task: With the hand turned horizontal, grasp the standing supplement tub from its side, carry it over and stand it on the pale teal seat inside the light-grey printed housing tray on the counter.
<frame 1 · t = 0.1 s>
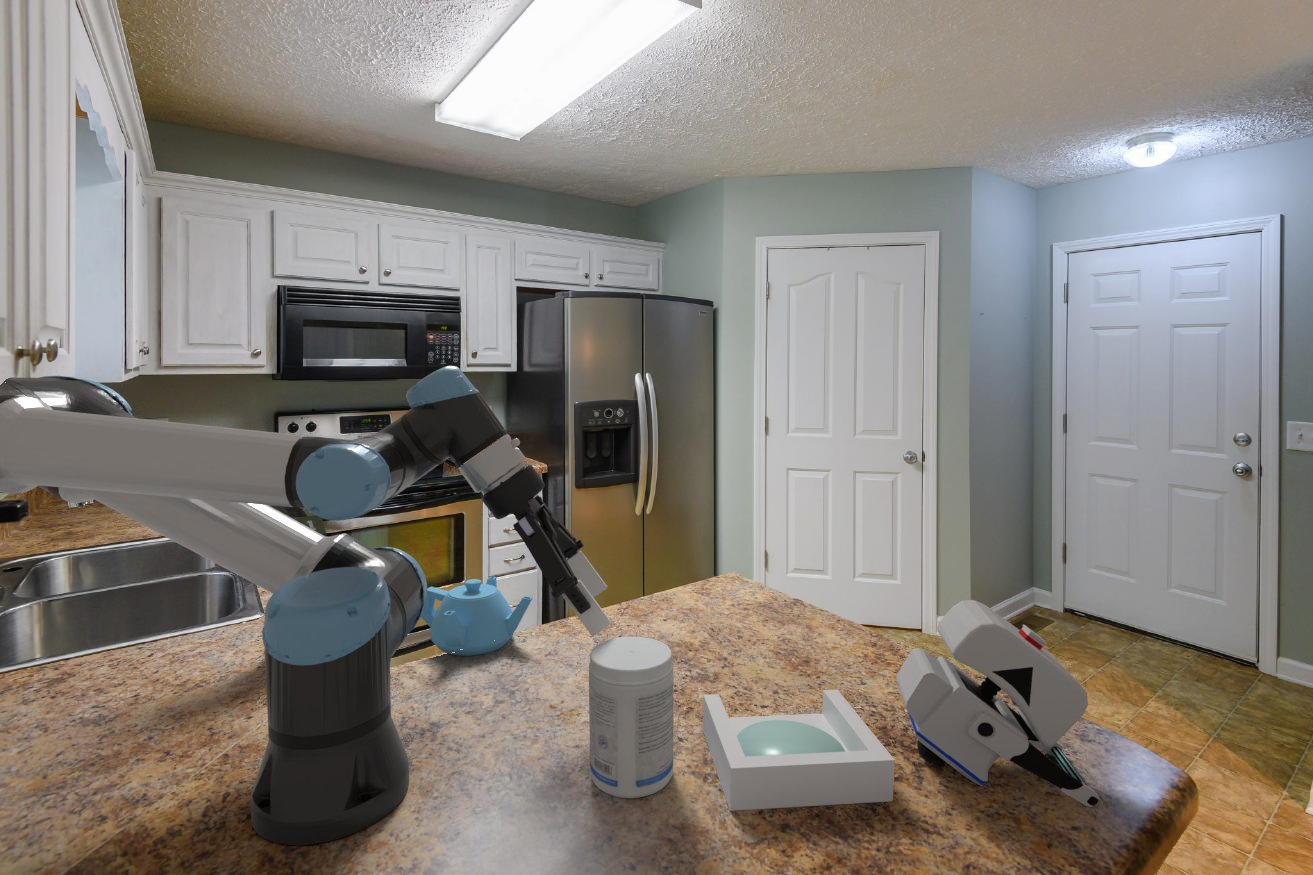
hand: (600, 609, 84), 15 cm above the countertop, tool tilted 35°, fingers open, 13 cm apart
mechanical leg: (300, 650, 107), on the countertop
teapot: (474, 643, 111), on the countertop
supplement tub: (630, 777, 74), on the countertop
robotic device: (985, 769, 77), on the countertop
housing: (789, 762, 77), on the countertop
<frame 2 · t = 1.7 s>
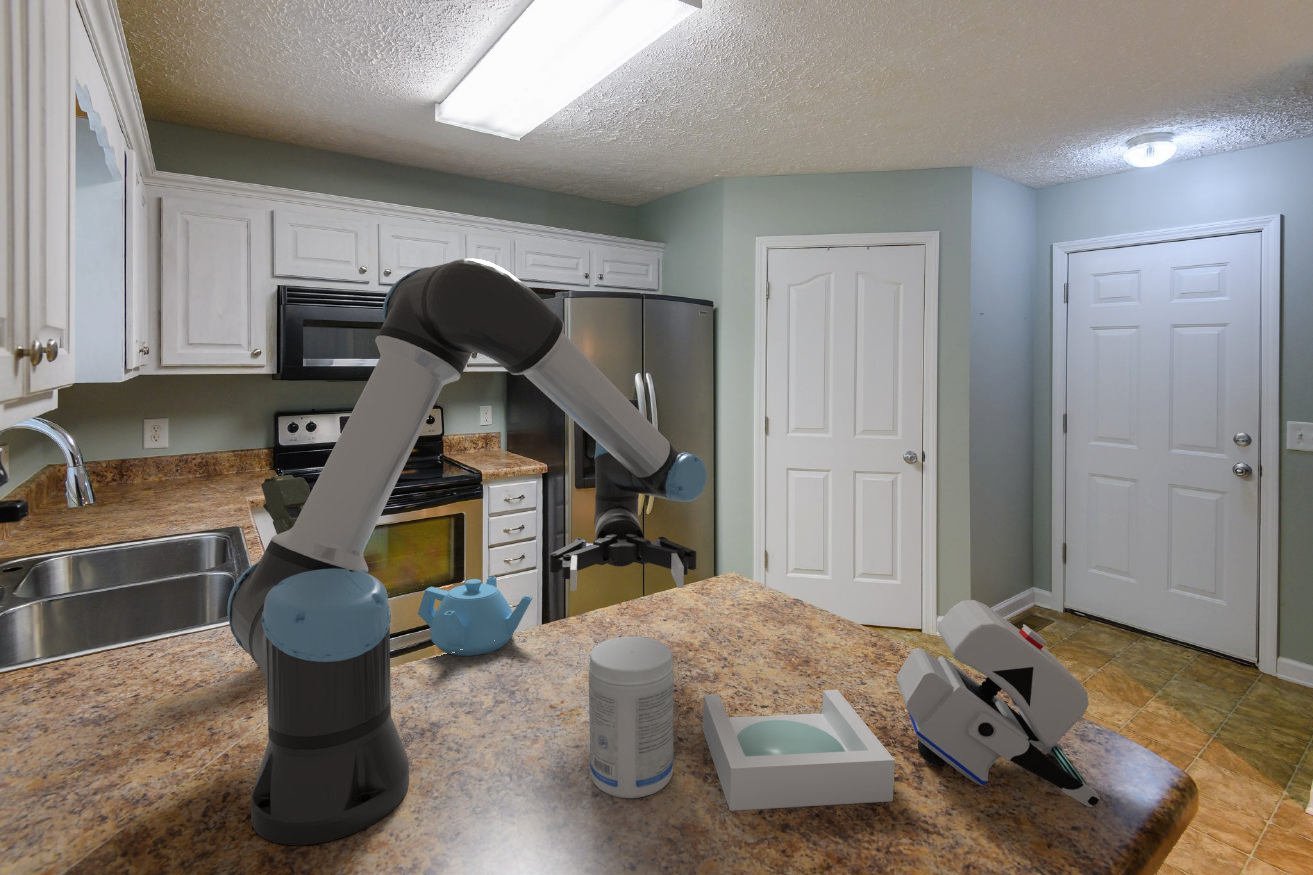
hand: (627, 579, 82), 20 cm above the countertop, tool horizontal, fingers open, 13 cm apart
nothing on the countertop moved.
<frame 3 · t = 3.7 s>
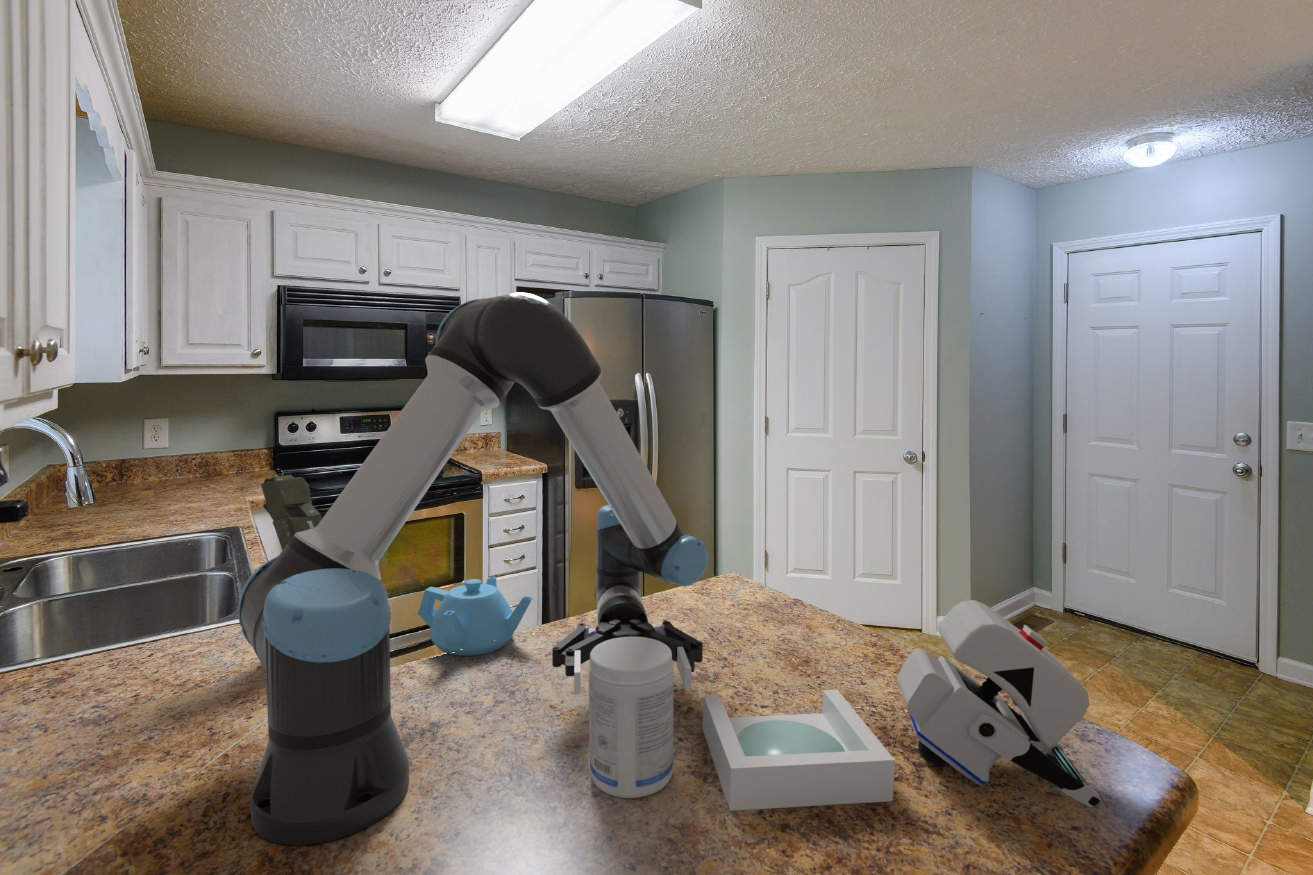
hand: (633, 681, 79), 8 cm above the countertop, tool horizontal, fingers open, 13 cm apart
nothing on the countertop moved.
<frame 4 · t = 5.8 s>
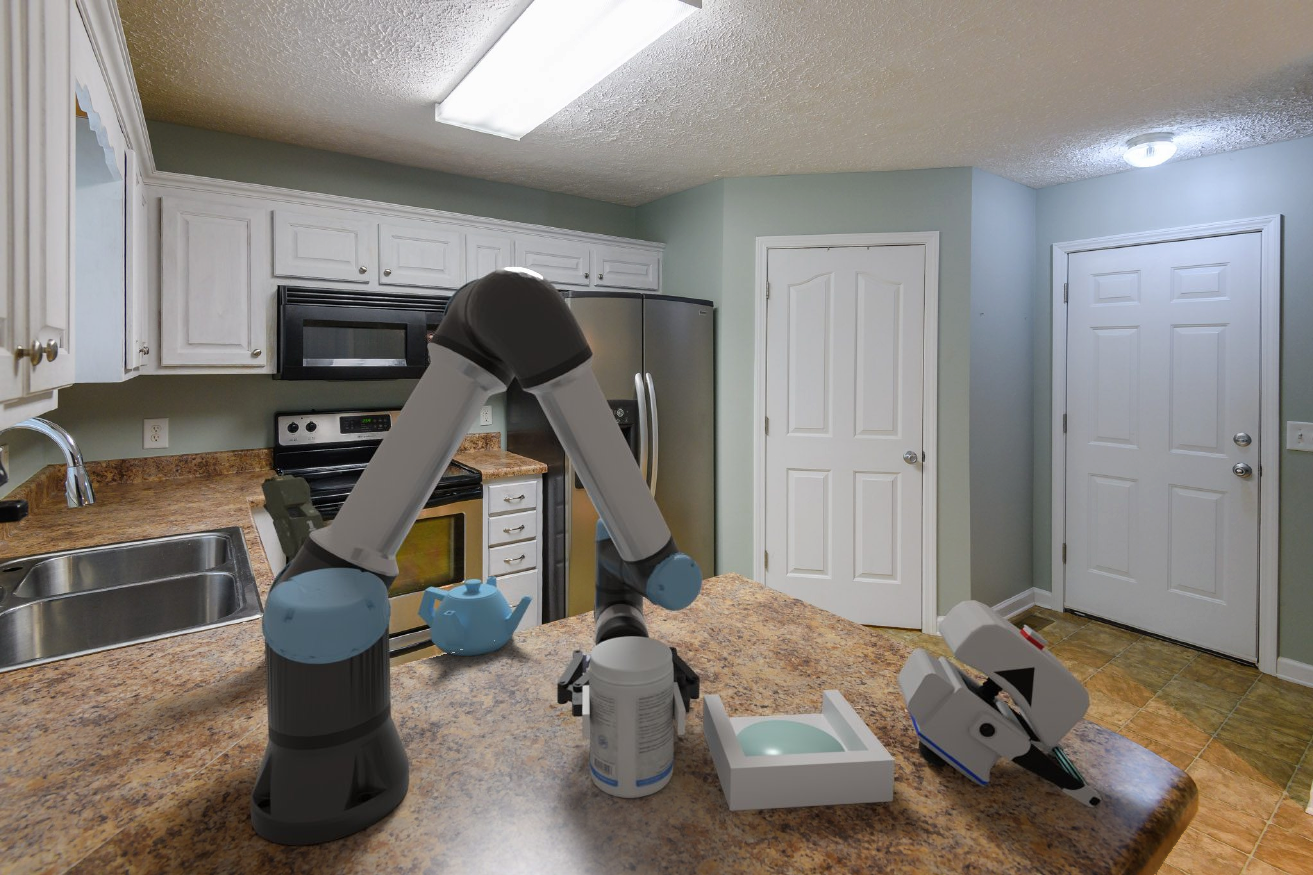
hand: (634, 724, 69), 9 cm above the countertop, tool horizontal, fingers closed on supplement tub, 9 cm apart
supplement tub: (630, 777, 74), on the countertop, touching gripper
everything else where it was.
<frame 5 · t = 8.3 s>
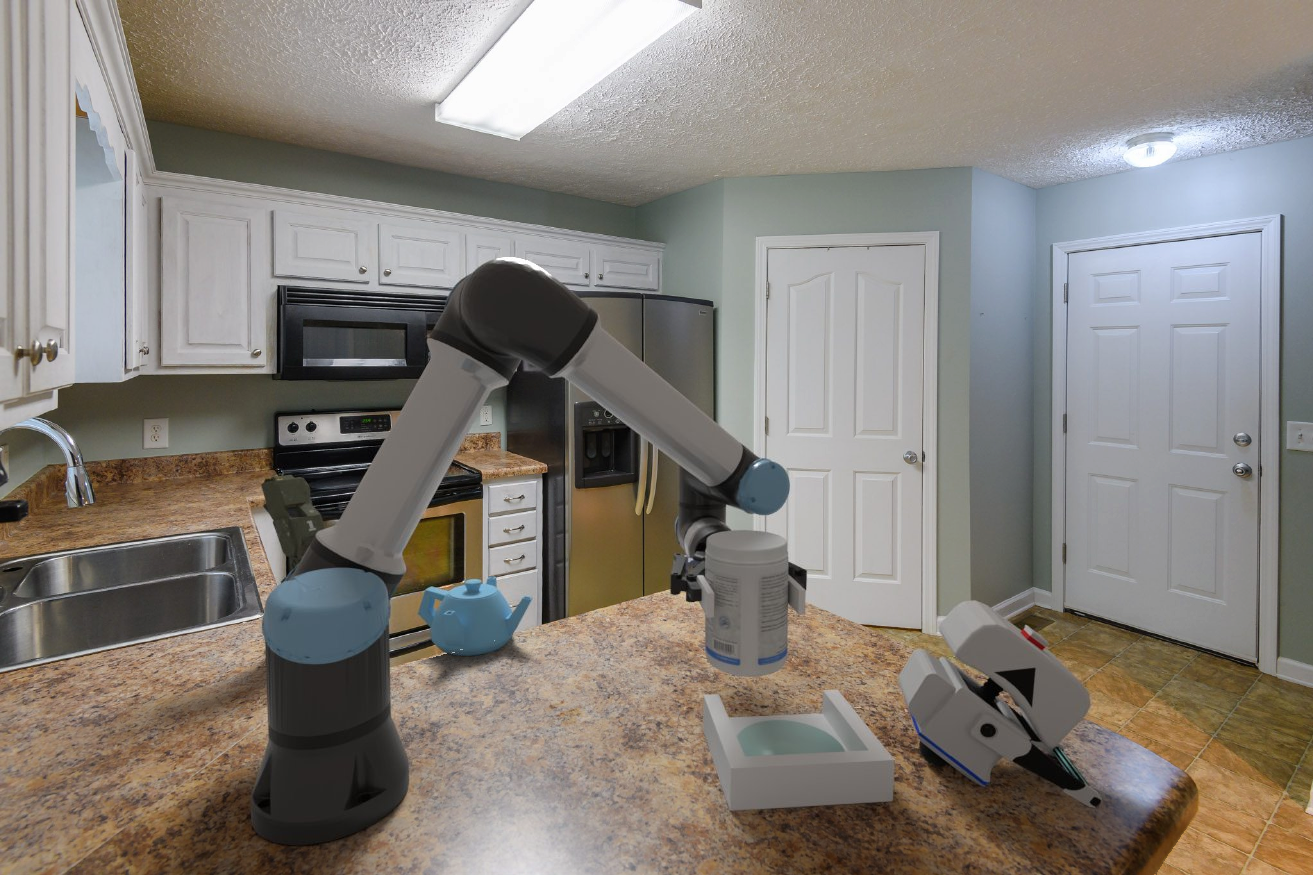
hand: (756, 603, 71), 21 cm above the countertop, tool horizontal, fingers closed on supplement tub, 9 cm apart
supplement tub: (744, 663, 76), point 12 cm above the countertop, touching gripper
everything else where it was.
when the fingers open (11 cm above the countertop, at t = 10.9 s): supplement tub drops 1 cm, resting on housing.
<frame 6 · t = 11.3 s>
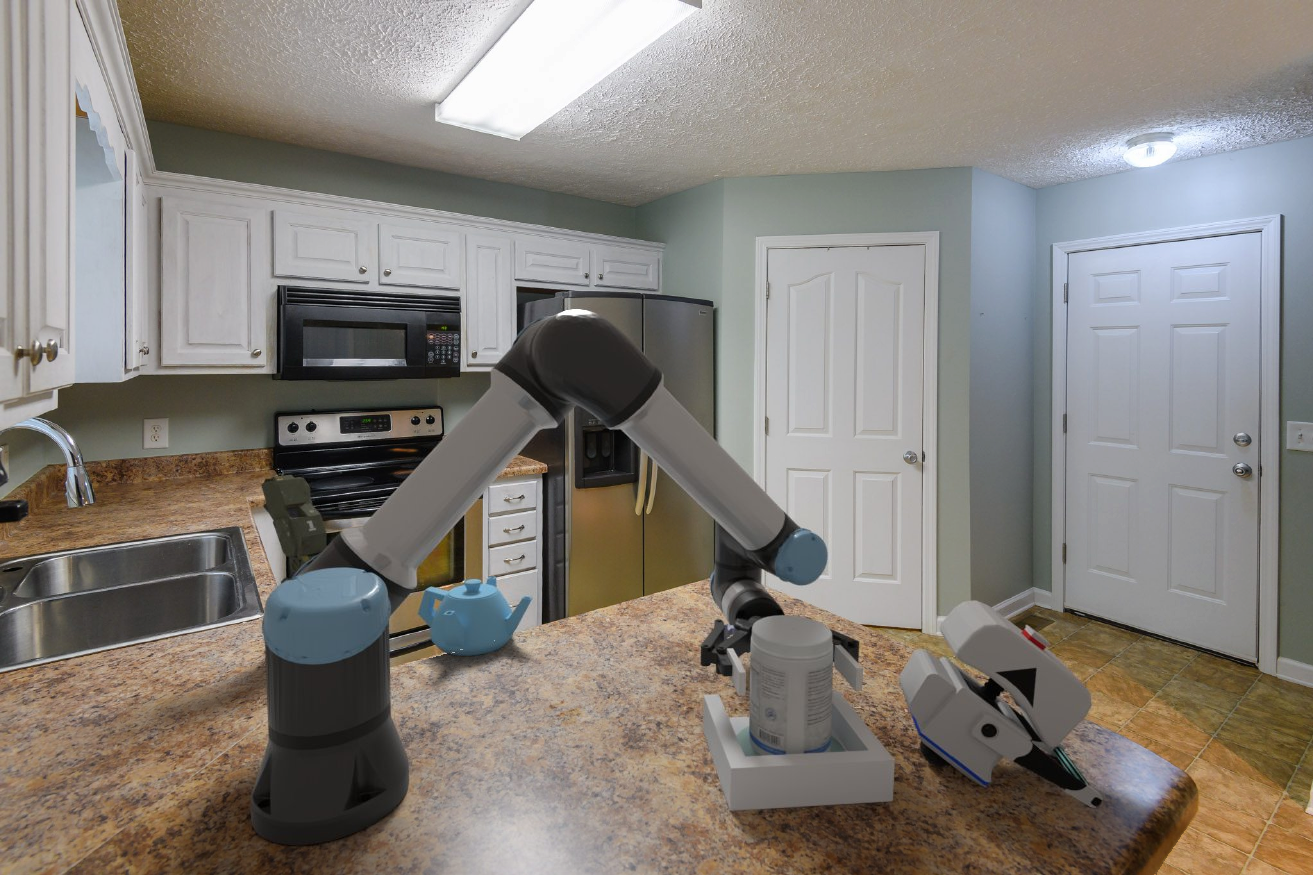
hand: (801, 682, 73), 11 cm above the countertop, tool horizontal, fingers open, 13 cm apart
supplement tub: (788, 749, 77), point 2 cm above the countertop, touching housing
everything else where it was.
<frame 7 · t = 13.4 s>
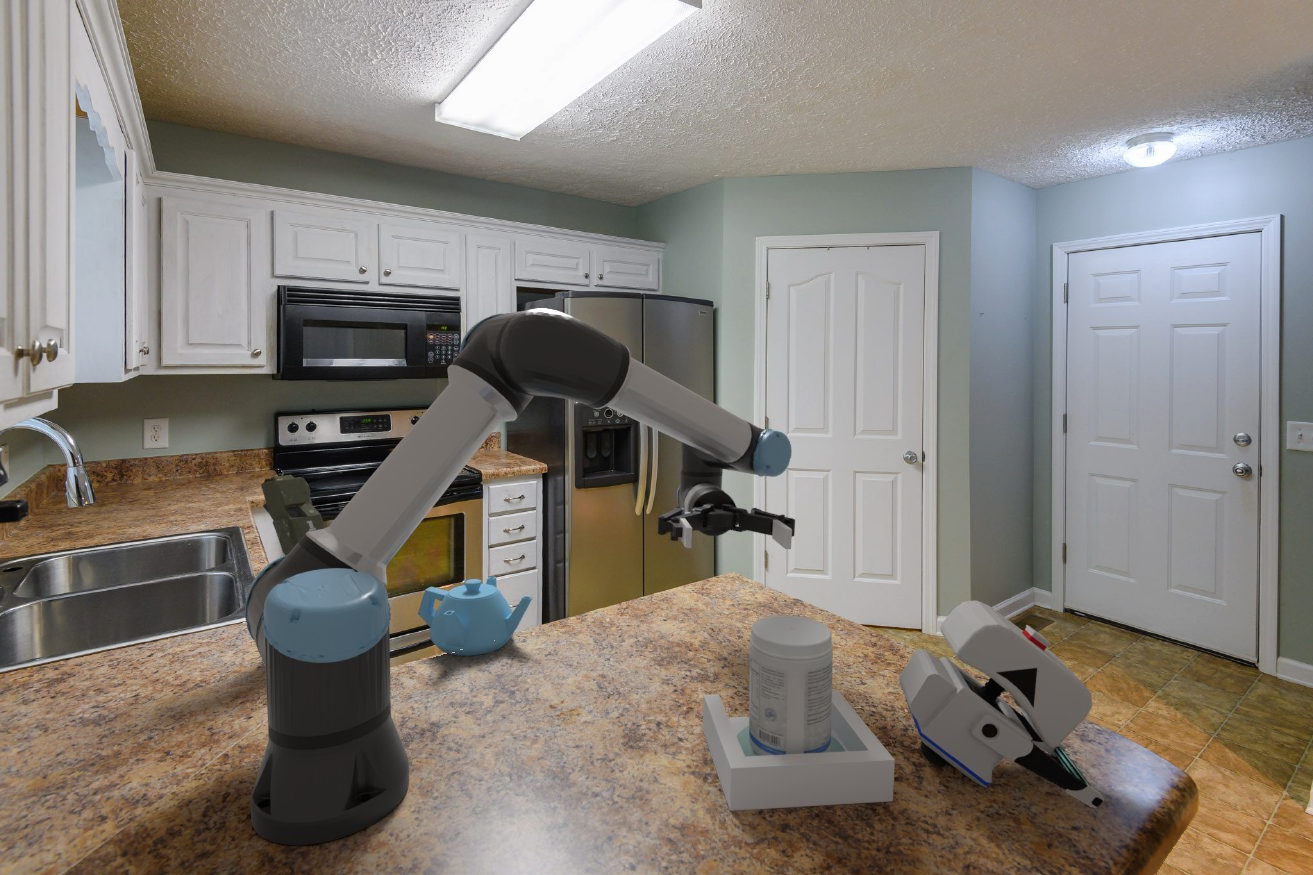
hand: (739, 538, 86), 24 cm above the countertop, tool horizontal, fingers open, 13 cm apart
nothing on the countertop moved.
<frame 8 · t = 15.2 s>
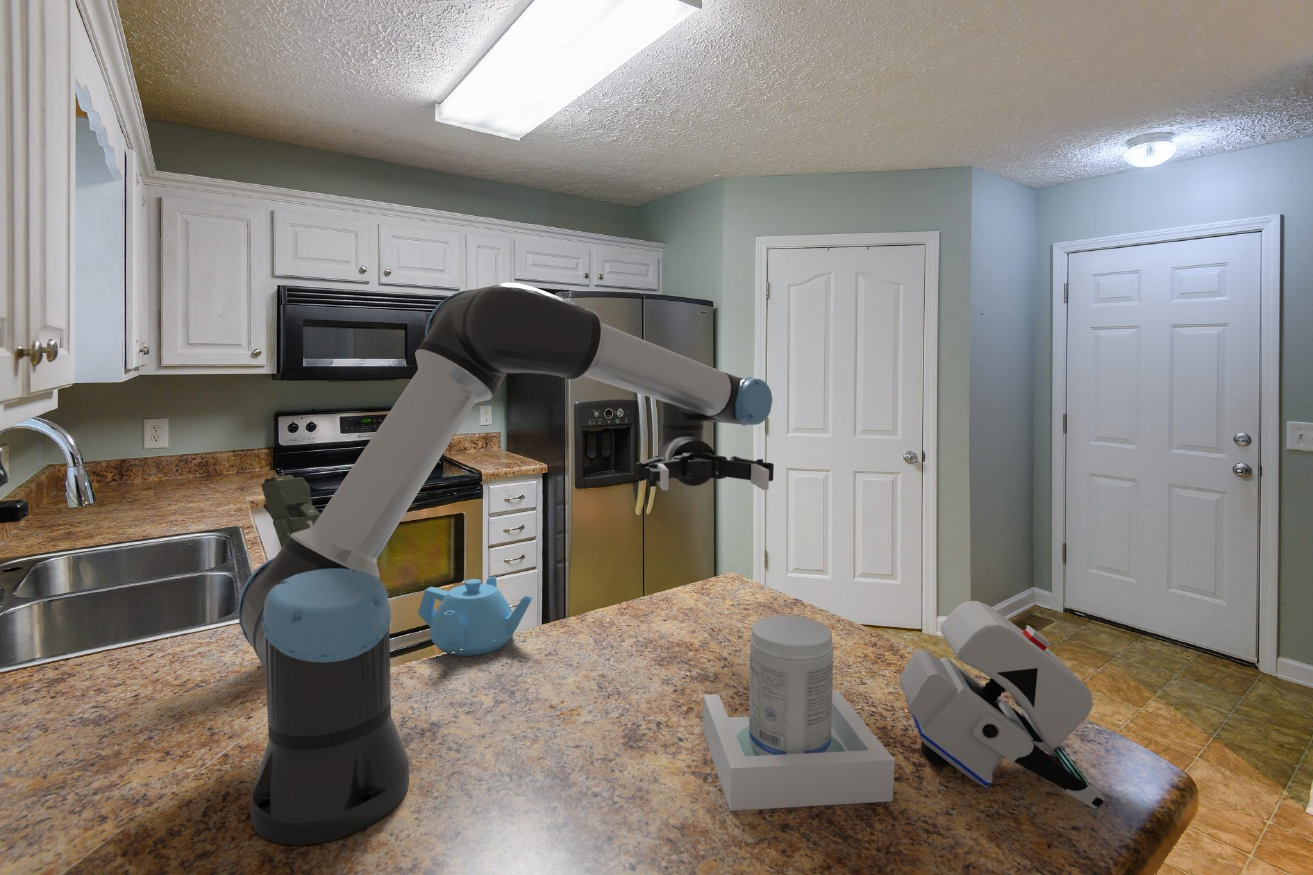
hand: (716, 480, 86), 32 cm above the countertop, tool horizontal, fingers open, 13 cm apart
nothing on the countertop moved.
at the end: supplement tub inside the target area on the housing (0.1 cm from its centre), point 1.5 cm above the housing's base; supplement tub tilted 0°; the gripper is holding nothing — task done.
